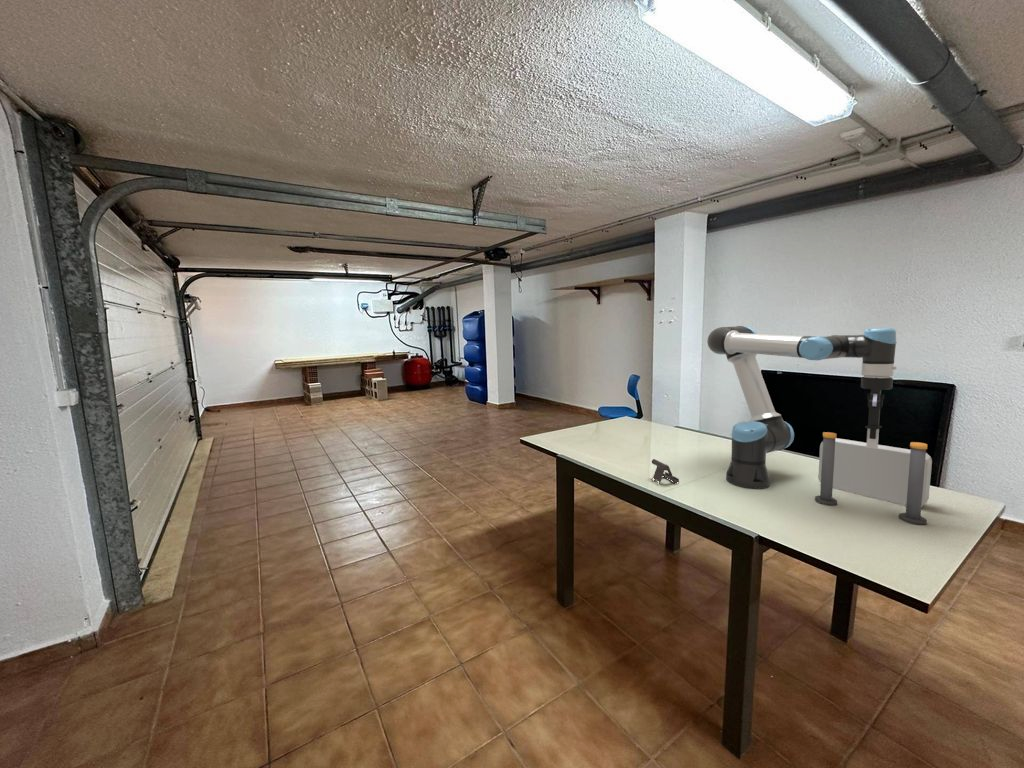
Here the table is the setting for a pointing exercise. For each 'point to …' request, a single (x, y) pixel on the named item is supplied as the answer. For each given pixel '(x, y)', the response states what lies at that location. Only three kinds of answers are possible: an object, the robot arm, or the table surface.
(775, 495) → the table surface
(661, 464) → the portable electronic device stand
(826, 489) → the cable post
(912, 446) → the cable post
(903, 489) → the rounded white slab
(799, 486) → the table surface
